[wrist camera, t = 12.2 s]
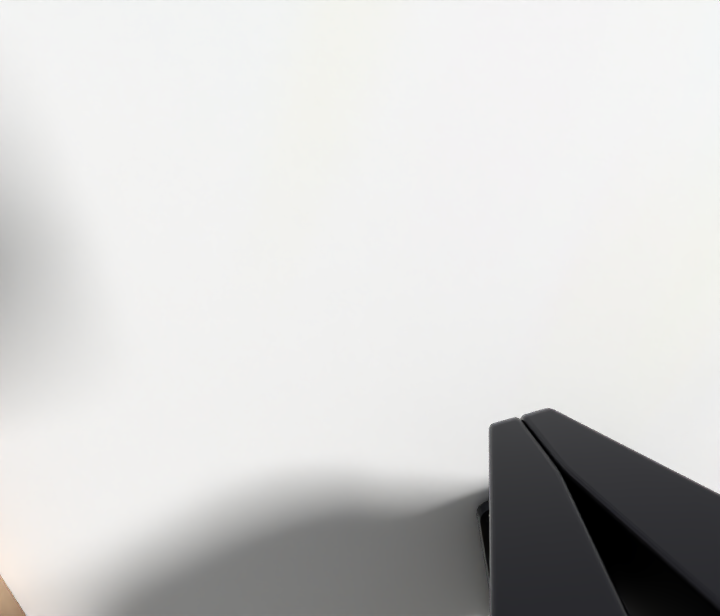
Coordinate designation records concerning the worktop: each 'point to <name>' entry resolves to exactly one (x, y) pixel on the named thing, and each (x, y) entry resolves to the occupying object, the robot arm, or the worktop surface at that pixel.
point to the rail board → (8, 602)
